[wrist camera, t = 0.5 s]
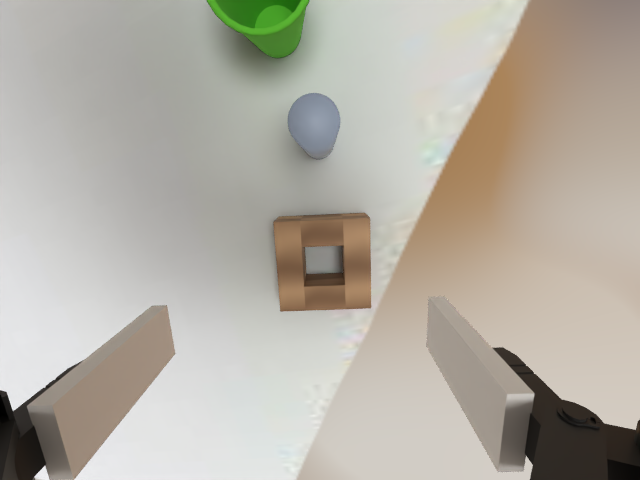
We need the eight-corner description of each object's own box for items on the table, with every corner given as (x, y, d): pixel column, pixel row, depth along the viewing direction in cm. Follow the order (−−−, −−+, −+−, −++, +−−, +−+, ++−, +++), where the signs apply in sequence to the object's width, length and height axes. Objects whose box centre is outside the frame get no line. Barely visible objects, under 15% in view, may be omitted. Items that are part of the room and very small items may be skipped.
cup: (244, 81, 35) (208, 41, 24) (231, -9, 33) (187, -95, 22) (321, 73, 35) (320, 28, 24) (313, -19, 33) (308, -112, 22)
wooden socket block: (279, 216, 38) (273, 222, 34) (364, 212, 38) (370, 218, 34) (285, 296, 41) (280, 311, 36) (366, 293, 40) (371, 308, 36)
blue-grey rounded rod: (302, 128, 36) (285, 94, 20) (333, 126, 36) (339, 91, 20) (304, 159, 37) (289, 150, 21) (334, 158, 37) (341, 147, 21)
